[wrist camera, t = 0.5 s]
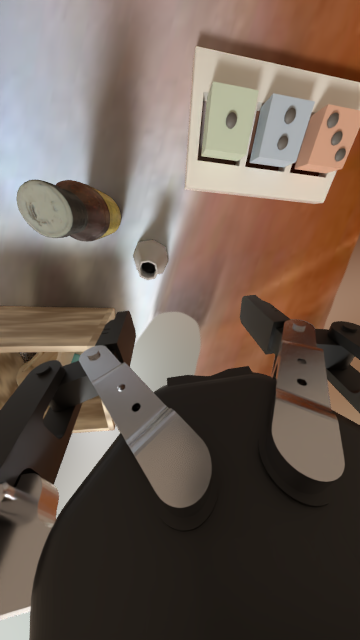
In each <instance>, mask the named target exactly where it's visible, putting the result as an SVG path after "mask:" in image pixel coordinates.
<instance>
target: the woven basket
mask: <svg viewBox="0 0 360 640" xmlns="http://www.w3.org/2000/svg"><path fill="white" fill-rule="evenodd" d="M114 319H115V310H114V308H80V307H27V306H0V410H1V409H2V407H3V406H4V405H5V403H6V402H7V401H8V399H9V398H10V397H11V396H12V394H13V393H14V392H15V390H16V389H17V388H18V387H19V386H18V384H17V380H16V376H17V373H18V371H19V369H20V368H21V367H22V366H23V365H24V364H25V362H24V361H23V359H22V357H21V355H20V353H19V352H84V351H86V350H87V349H89V348H91V347H94V346H95V344H96V342H97V340H98V338H99V337H100V335H101V333H102V331H103V329H104V327H105V325H106V324H107V323H108V322H109V321H110V320H114ZM49 407H50V406H48V407H47V409H46V411H45V413H44V416H43V419H44V417H45V415H46V413H47V411H48V409H49ZM114 429H115V423H114V421H113V419H112V418H111V416H110V414H109V413H108V411H107V409H106V407H105V406H104V404H103V402H102V401H101V399H100V397H99V396H96V397H94V398H92V399H89V400H87V401H84V402H83V403H82V406H81V409H80V412H79V414H78V417H77V420H76V423H75V426H74V429H73V431H72V433H81V432H94V431H109V430H114Z"/></svg>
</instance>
